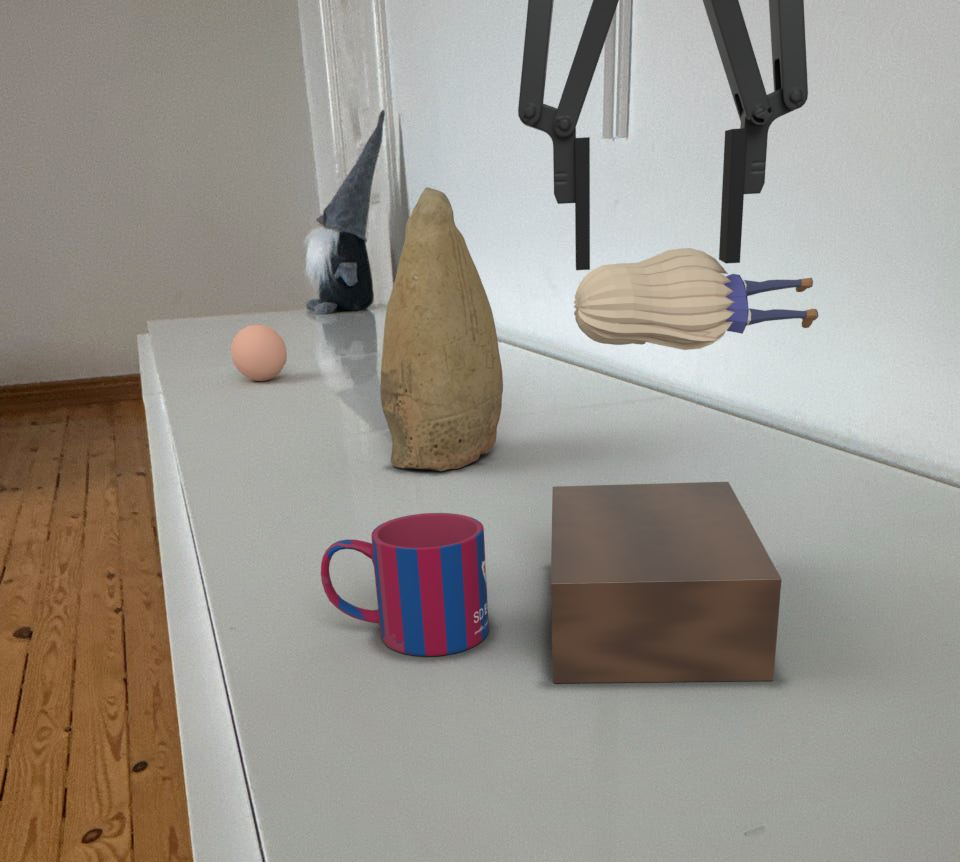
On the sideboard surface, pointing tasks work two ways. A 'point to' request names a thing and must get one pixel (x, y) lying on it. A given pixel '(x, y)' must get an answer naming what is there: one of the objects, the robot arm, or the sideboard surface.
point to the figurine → (674, 301)
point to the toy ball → (258, 352)
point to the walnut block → (659, 586)
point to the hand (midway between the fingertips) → (655, 263)
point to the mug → (423, 583)
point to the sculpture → (439, 348)
